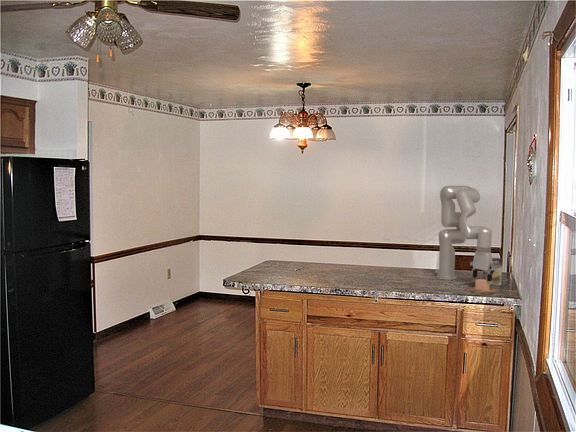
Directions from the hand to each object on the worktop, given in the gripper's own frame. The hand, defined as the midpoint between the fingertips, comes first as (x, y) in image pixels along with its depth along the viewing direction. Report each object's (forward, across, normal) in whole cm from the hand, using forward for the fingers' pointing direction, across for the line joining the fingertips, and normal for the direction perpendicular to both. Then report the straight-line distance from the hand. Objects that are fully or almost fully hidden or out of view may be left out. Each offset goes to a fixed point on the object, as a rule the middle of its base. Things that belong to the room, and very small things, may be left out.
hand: (482, 279), depth 319 cm
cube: (+6, +1, 0) cm, 6 cm away
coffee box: (+8, -8, +22) cm, 24 cm away
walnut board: (+7, +1, 0) cm, 7 cm away
